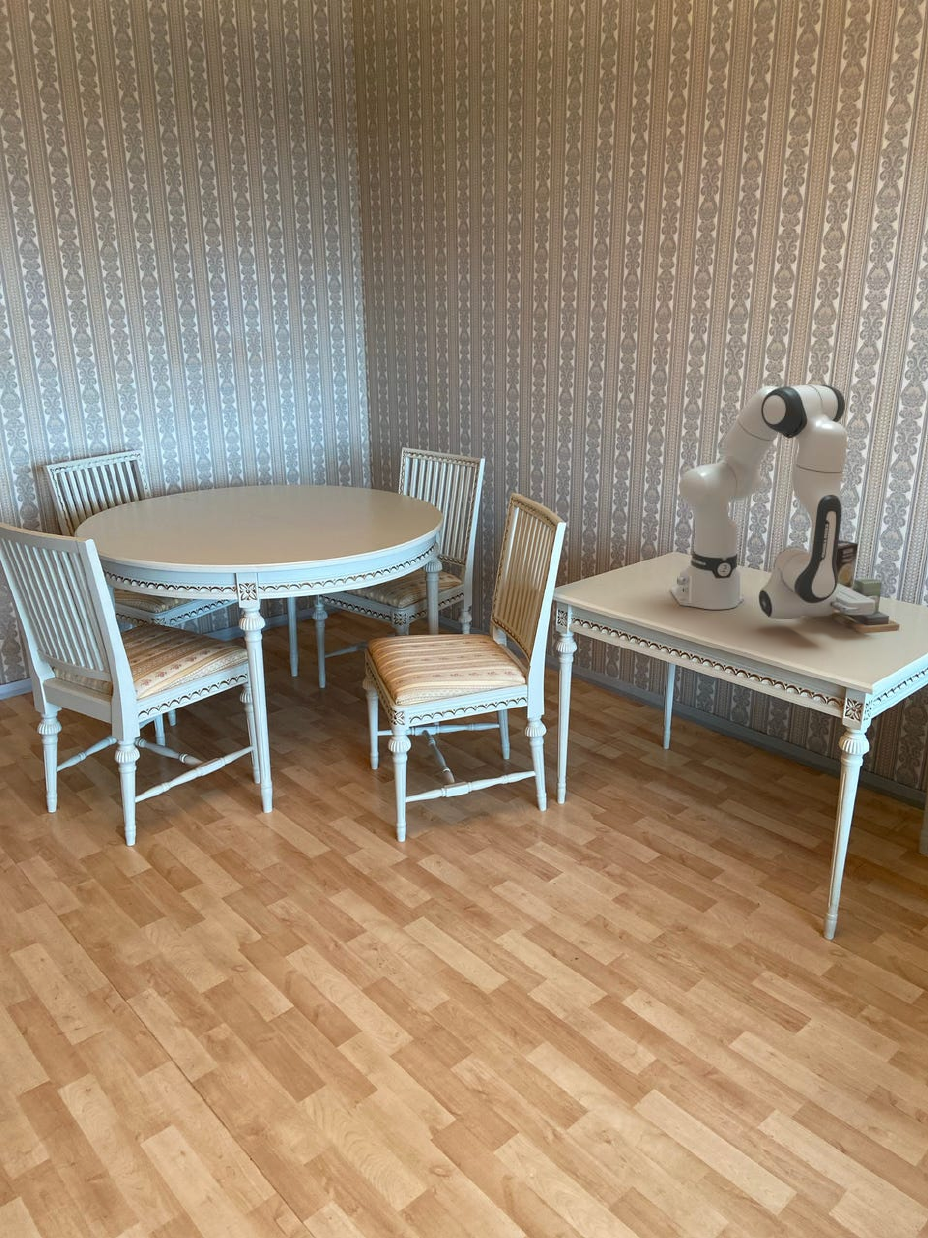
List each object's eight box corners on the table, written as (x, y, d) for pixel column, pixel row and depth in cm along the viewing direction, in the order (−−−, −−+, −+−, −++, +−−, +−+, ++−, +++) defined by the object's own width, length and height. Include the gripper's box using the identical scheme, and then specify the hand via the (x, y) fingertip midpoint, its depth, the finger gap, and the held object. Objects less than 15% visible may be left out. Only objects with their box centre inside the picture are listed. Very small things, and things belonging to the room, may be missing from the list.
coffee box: (832, 604, 270) (838, 548, 265) (812, 599, 275) (818, 543, 270) (852, 598, 275) (858, 543, 270) (831, 593, 280) (837, 538, 275)
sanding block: (839, 611, 259) (843, 575, 256) (859, 609, 260) (864, 573, 257) (867, 625, 248) (871, 587, 245) (888, 623, 249) (893, 586, 246)
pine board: (814, 608, 267) (815, 603, 266) (851, 606, 269) (852, 600, 268) (859, 633, 247) (860, 627, 246) (898, 629, 249) (899, 624, 249)
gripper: (845, 598, 239) (896, 594, 242) (801, 576, 258) (848, 573, 261) (842, 623, 241) (892, 619, 244) (799, 599, 260) (846, 596, 263)
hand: (869, 595), depth 252 cm, fingers closed on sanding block, 5 cm apart
